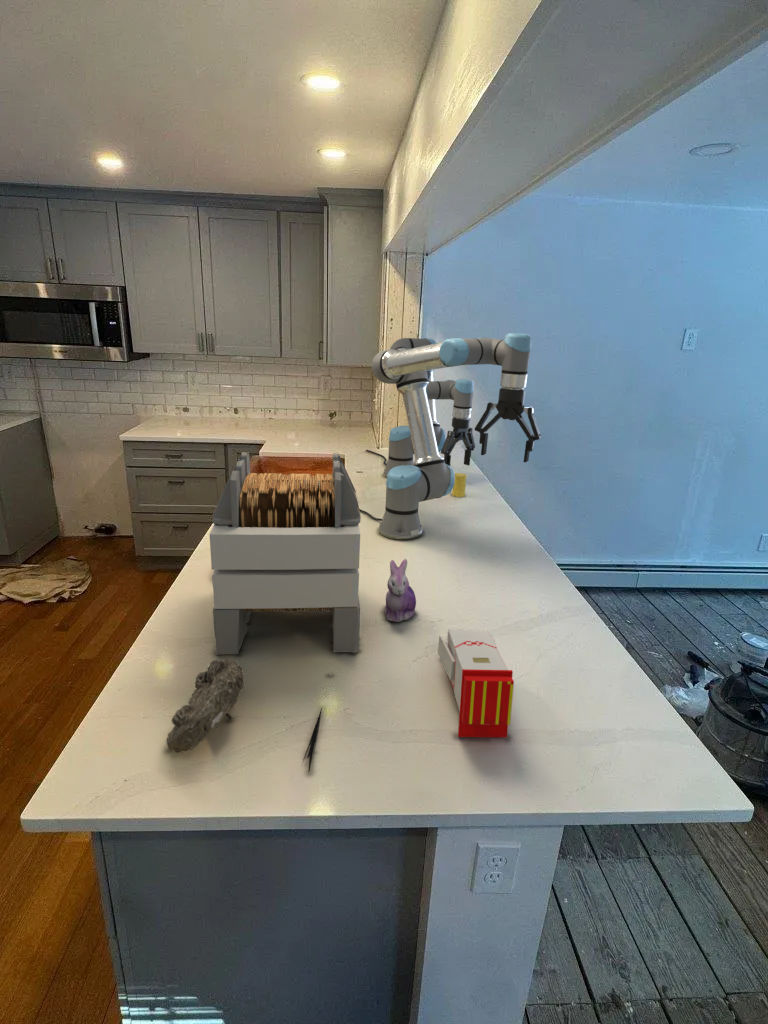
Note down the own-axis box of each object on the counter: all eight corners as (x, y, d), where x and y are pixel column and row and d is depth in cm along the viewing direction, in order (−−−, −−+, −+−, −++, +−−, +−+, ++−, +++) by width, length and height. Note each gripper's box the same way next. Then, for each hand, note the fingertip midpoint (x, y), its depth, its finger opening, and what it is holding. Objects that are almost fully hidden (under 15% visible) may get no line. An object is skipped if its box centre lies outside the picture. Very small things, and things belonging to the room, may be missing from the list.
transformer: (234, 586, 158) (226, 442, 144) (351, 584, 161) (355, 445, 148) (213, 657, 126) (200, 481, 112) (359, 653, 130) (365, 483, 116)
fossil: (192, 660, 117) (244, 628, 112) (224, 691, 120) (276, 661, 115) (142, 746, 98) (202, 712, 93) (182, 779, 101) (242, 748, 96)
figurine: (392, 627, 141) (395, 572, 136) (374, 608, 149) (376, 556, 144) (425, 619, 145) (429, 566, 140) (405, 601, 154) (408, 550, 149)
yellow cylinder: (461, 497, 242) (463, 477, 238) (449, 495, 244) (451, 474, 241) (466, 494, 246) (468, 474, 243) (455, 492, 249) (457, 472, 245)
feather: (331, 679, 122) (336, 673, 122) (307, 777, 96) (313, 769, 95) (324, 675, 122) (329, 669, 121) (298, 772, 95) (304, 764, 95)
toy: (488, 613, 130) (523, 677, 101) (484, 667, 133) (517, 744, 104) (435, 612, 130) (455, 676, 101) (432, 666, 133) (451, 743, 103)
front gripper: (558, 391, 165) (547, 461, 172) (477, 382, 176) (470, 449, 184) (551, 394, 159) (541, 467, 166) (468, 384, 170) (462, 453, 177)
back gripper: (449, 422, 223) (444, 474, 230) (486, 416, 240) (481, 464, 247) (434, 419, 228) (430, 470, 235) (472, 413, 245) (467, 460, 252)
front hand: (504, 457), depth 175 cm, fingers open, 13 cm apart
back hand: (456, 467), depth 241 cm, fingers open, 13 cm apart
